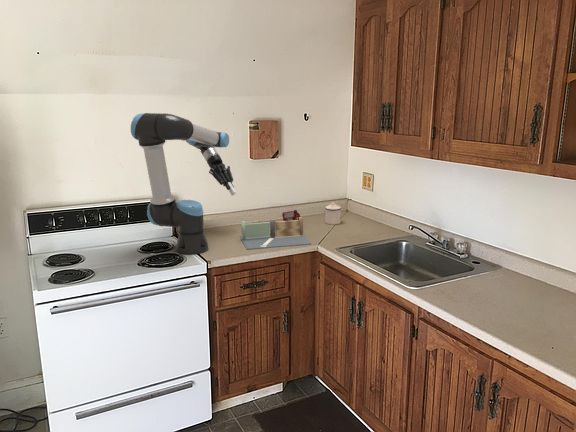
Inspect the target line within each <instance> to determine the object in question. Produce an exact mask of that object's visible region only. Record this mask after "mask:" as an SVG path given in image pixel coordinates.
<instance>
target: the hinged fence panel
mask: <svg viewBox="0 0 576 432" xmlns="http://www.w3.org/2000/svg"><path fill="white" fill-rule="evenodd" d="M240 227H241V228H240V229H241V231H240V232H241V236H242V239H246V238H251V237H264V236H270V221H267V222H265V221H264V222H254V223H253V222H252V223H246V220H241V221H240Z"/></svg>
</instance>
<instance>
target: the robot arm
mask: <svg viewBox="0 0 576 432" xmlns="http://www.w3.org/2000/svg"><path fill="white" fill-rule="evenodd" d="M130 133H131V136H132V138H134V139H135V140H136V141H138V146H139V147H141V148H142V149H143V152H144V153H143V154H144V159H145V163H146V170H147V175H148V180H149V185H150V189H151V194H152V198H151V199H150V201H149V202H150V203H148V205H147V210H146V216H147V218H148V221H149V222H150V223H151V224H153V225H154V226H159V227H169V228H178V238H177V241H176V244H175V250H176V253H178V254H181V255H196V254H197V255H198V254H202V253H205V252H207V251H209V242H208V240H207V238H206V235H205V230H204V229H205V226H204V224H205V223H204V208H203V205H202V203H201V202H199V201H197V200H193V199H181V200H178V201H177V199H176V196H175V195H173V194H172V192H171V185H170V180H169V176H168V175H169V174H168V169H167V162H166V157H165V150H164V145H165V143H166V141H178V140H179V141H184V142H186V143H187V144H188V145H190V146H192V147H194V148H196V149H198V150H199V149H200V150H201V151H200V150H199V151H200V153H201V154H202V156H203V158H204V160H205V161H206V164H207V165H208V167H209V168H210V169H209V171H208V173H209V174H210V175H212V177H213V178H214V179H215V180H216V182H217V183H218V184H219V185H221V186H223V187H225V188H226V190H227V191H228V192H229V194H230V195H231V196H235V194H236V193H237V191H236V189H235V186H234V184H233V182H234V177H233V175H232V172H231V167H230V166H229V165H227V166H226V164H225V163H223V159H222V158H221V156H220V154H219V152H218V151H217V149H216V148H227V147H228V146H229V145H230V136H229V134H228V133H227V132H225V131H224V132H223V131H221V132H220V131H215V130H212V129H210V128H206V127H203V126H200V125H197V124H196V123H195V124H194V123H192V121H190V120H189V119H187V118H184V117H180V116H178V115H175V114H172V113H156V112H153V113H152V112H145V113H142V112H141V113H138V114H136V115H135V116H134V117H133V118H132V121H131V123H130ZM176 201H177V202H176Z"/></svg>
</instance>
